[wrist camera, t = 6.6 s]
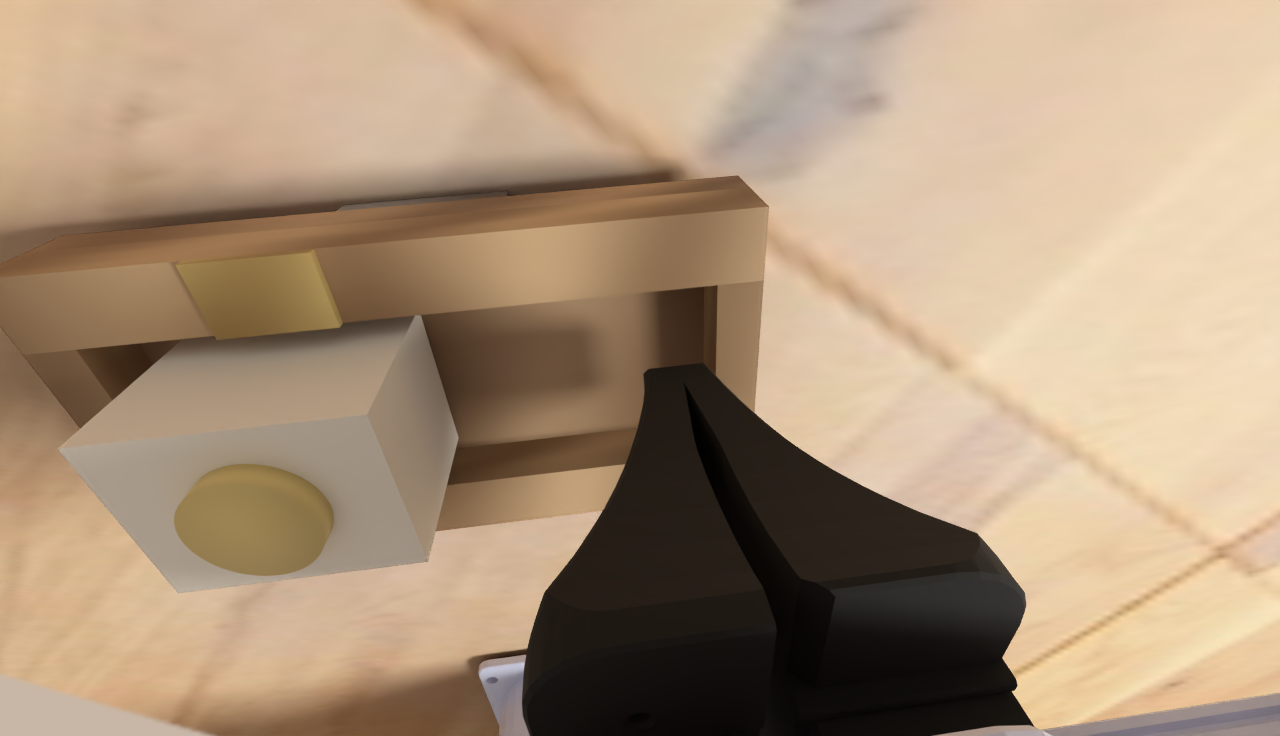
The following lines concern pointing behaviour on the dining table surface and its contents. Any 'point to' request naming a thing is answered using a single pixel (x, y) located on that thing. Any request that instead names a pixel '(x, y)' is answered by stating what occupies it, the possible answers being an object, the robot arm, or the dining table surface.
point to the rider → (277, 454)
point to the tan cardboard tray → (437, 314)
